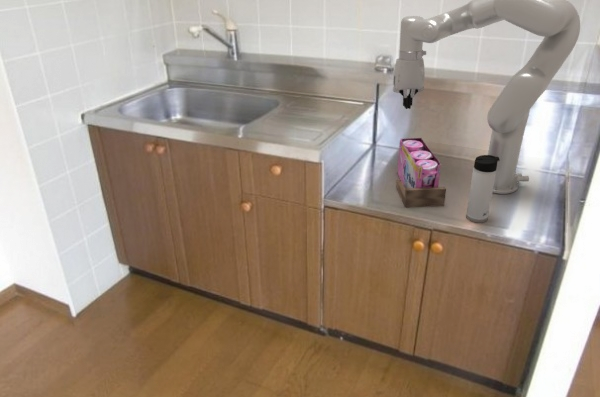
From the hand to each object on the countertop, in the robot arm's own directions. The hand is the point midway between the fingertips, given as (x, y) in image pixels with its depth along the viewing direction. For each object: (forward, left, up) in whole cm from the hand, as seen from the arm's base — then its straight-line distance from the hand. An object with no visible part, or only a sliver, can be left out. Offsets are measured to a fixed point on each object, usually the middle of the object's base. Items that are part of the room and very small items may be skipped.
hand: (407, 107), depth 176 cm
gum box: (0, +20, -22) cm, 30 cm away
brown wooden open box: (0, +26, -21) cm, 34 cm away
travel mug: (-14, +41, -22) cm, 49 cm away
